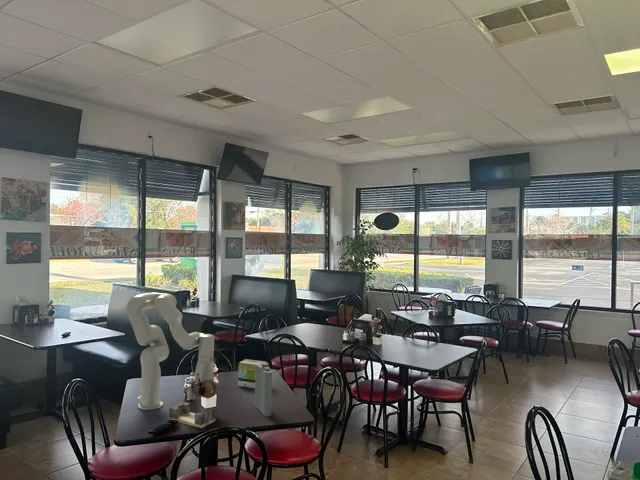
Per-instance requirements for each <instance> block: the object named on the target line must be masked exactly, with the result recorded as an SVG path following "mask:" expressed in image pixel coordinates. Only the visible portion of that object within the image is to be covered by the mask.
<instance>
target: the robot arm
mask: <svg viewBox="0 0 640 480" xmlns="http://www.w3.org/2000/svg"><path fill="white" fill-rule="evenodd" d="M177 303H178V302H177V298H176V296H174V295H173V294H170V293H162V292H161V293H159V292H146V293H140V294H137V295H134V296H133V297H131V298H130V299H129V300H128V302H127V304H126V313H127V314H126V315H127V316H128V319H129V321H130V324H131V327H132V329H133V333H134V335H135V339H136V340H137V343H138V344H139V345H140V346H148V345H150V346H148V347H146V348H145V349H143V350H142V352H141V353H140V358H139V359H140V364H141V365H140V366H141V389H140V390H141V392H140V393H141V395H138V397H137V398H136V400H137V401H139V403H138V404H137V408H138V409H140V410H142V411H151V410H157V409H160V408H162V407H163V405H164V402H163V401H161V379H162V378H161V376H162V375H161V373H162V371H161V366H160V362H163V361H164V360H166V359H167V358H168V357H169V354H170V348H169V345H168V343H167V340H166V337H165V334H164V332H163V330H162V328H161V327H160V326H159V325H156V324H150V321H149V318H148V316H147V314H145V313H144V311H145V310H149V309H155V311H156V312H157V313H158V314H159V315H160V316H161V317H162V318H163V320H164V321H165V322H166V324H167V325H168V326H169V330H170V332H171V333H170V334H171V336H172V338H173V339H174V341H176V343H177V344H178V345H179V346H180V348H182V349H183V350H186V351H188V350H189V351H190V350H192V349H194V348H197V347H198V360H197V362H196V366H195V371H194V380H195V381H196V382H195V384H197V385H198V387H199V394H200V395H204V391H205V387H204V381H212V380H213V379H214V373H215V372H214V371H215V369H214V367H215V365H214V363H215V362H214V352H215V350H214V349H215V335H213V334H211V333H202V332H199V331H194V332H190V333H188V331H186V330H185V329H184V327H183V325H182V320H183V314H182V313H181V311H180V310H179V309H178V308H177ZM201 382H202V384H201Z"/></svg>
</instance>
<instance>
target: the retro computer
mask: <svg viewBox="0 0 640 480" xmlns="http://www.w3.org/2000/svg"><path fill="white" fill-rule="evenodd" d="M262 363H268V362H267V361H263V360H256V359H255V360H254V359H248V358H247V359H246V358H244V359H243V360H242V361H240V362H238V370H237V371H238V372H237V373H238V374H237V375H238V377H237V387H245V388H252V389H255V371H256V364H262Z"/></svg>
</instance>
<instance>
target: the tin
mask: <svg viewBox="0 0 640 480" xmlns="http://www.w3.org/2000/svg"><path fill="white" fill-rule="evenodd" d="M195 382H196V381H195V379H194V380H193V381H192V382H191V387H190V388H191V392H192V394H193V395H195V396H197V397H199V398H200V397H202V398H204V399H211V398H213V397H214V396H215V395H216V394H217V389H218V388H217V384H216V383H215V382H214V381H212V380H211V381H204V387H205V391H204V395H200V394H199V387H198V385H197V384H195ZM201 384H202V382H201Z"/></svg>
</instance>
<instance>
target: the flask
mask: <svg viewBox="0 0 640 480" xmlns="http://www.w3.org/2000/svg"><path fill="white" fill-rule="evenodd" d="M269 365H270V364H269V363H268V362H267V363H262V364H256V371H255V388H254V408H256V409H257V408H258V410H259V411H260V412H261V414H262V415H263V416H264V417H271V416H272V396H273V395H272V389H273V386H272V385H273V370H272V369H271V368H270V366H269Z"/></svg>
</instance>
